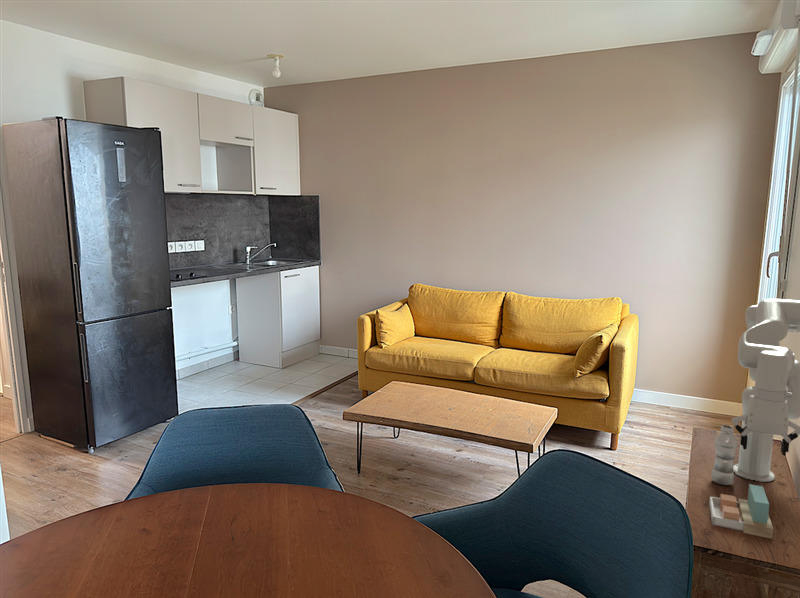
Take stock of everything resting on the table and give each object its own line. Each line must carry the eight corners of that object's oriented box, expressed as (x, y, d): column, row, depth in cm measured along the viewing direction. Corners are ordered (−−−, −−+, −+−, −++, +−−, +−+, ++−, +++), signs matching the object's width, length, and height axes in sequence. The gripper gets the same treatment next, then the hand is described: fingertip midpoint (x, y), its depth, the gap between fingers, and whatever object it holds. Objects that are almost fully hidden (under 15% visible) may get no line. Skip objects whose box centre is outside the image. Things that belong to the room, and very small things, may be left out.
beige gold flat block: (737, 507, 177) (738, 498, 177) (763, 512, 174) (764, 503, 174) (743, 532, 163) (744, 522, 162) (772, 538, 160) (773, 528, 159)
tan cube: (734, 508, 176) (719, 505, 177) (735, 496, 175) (720, 493, 177) (735, 514, 172) (720, 511, 174) (736, 502, 172) (721, 499, 173)
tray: (709, 503, 180) (709, 496, 179) (737, 509, 176) (738, 501, 176) (712, 524, 167) (712, 516, 167) (743, 531, 164) (743, 522, 163)
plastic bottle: (714, 477, 198) (719, 421, 196) (736, 483, 194) (741, 427, 191) (708, 482, 194) (713, 426, 191) (730, 489, 189) (735, 432, 186)
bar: (747, 502, 174) (749, 484, 173) (760, 505, 173) (762, 486, 172) (752, 521, 163) (754, 501, 163) (767, 524, 162) (769, 504, 161)
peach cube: (736, 520, 169) (721, 517, 170) (738, 508, 168) (722, 505, 170) (738, 527, 165) (722, 524, 167) (739, 514, 164) (723, 511, 166)
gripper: (803, 394, 163) (796, 451, 165) (733, 386, 170) (728, 440, 173) (808, 402, 156) (801, 461, 159) (736, 393, 163) (730, 450, 166)
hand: (763, 450), depth 166 cm, fingers open, 9 cm apart
